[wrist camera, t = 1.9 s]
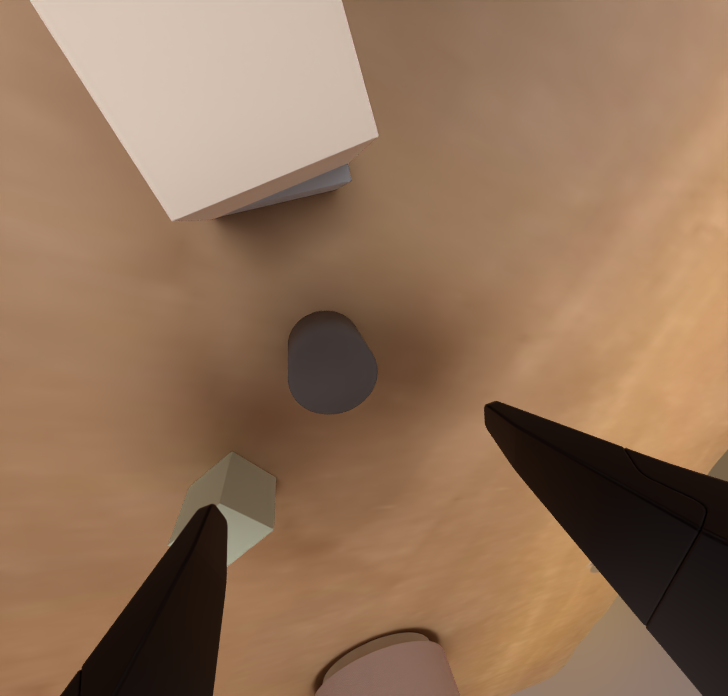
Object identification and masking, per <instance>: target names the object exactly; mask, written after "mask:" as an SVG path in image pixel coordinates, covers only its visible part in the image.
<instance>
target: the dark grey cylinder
mask: <svg viewBox="0 0 728 696" xmlns="http://www.w3.org/2000/svg"><path fill="white" fill-rule="evenodd" d="M377 374H378V370H377V363H376V360H375V358H374V356H373V354H372V352H371V351H370V349H369V347H368V346H367V344H366V342H365V341H364V339H363V338H362V336H361V334H360V333H359V331H358V330H357V328H356V326H355V325H354V324H353V322H352V321H351V320H350V319H348V318H347V317H346V316H344V315H342V314H340V313H337V312H333V311H318V312H314V313H312V314H309V315H307V316H305V317H304V318H302V319H301V320H300V321H299V322H298V323H297V324H296V325H295V326H294V328H293V329H292V331H291V333H290V336H289V341H288V383H289V388H290V391H291V393H292V395H293V397H294V398H295V400H296V401H297V402H298V403H299V404H300V405H301V406H303V407H304V408H306V409H308V410H310V411H312V412H315V413H319V414H338V413H343V412H346V411H348V410H351V409H353V408H355V407H356V406H358V405H359V404H361V403H362V402H363V401H364V400H365V399H366V398H367V397H368V396H369V395H370V393H371V392H372V390H373V388H374V386H375V383H376V380H377Z"/></svg>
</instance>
